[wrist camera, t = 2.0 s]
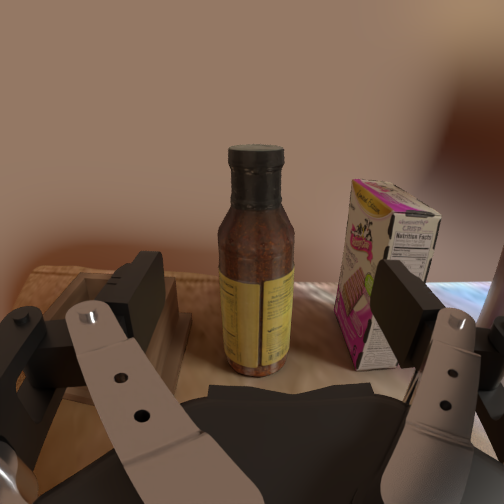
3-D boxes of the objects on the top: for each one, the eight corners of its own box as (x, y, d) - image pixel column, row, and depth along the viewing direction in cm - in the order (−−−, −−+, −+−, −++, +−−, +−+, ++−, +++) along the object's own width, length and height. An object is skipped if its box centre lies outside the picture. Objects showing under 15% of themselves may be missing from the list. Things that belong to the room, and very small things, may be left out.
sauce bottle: (282, 338, 34) (299, 144, 26) (291, 379, 28) (317, 153, 20) (221, 338, 33) (219, 141, 25) (220, 381, 28) (215, 149, 20)
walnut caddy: (192, 320, 36) (188, 274, 34) (169, 417, 23) (157, 367, 21) (84, 311, 36) (74, 268, 33) (33, 390, 23) (9, 342, 21)
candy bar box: (330, 310, 39) (349, 177, 32) (367, 310, 39) (392, 181, 32) (352, 374, 28) (392, 208, 22) (398, 370, 29) (446, 213, 22)
